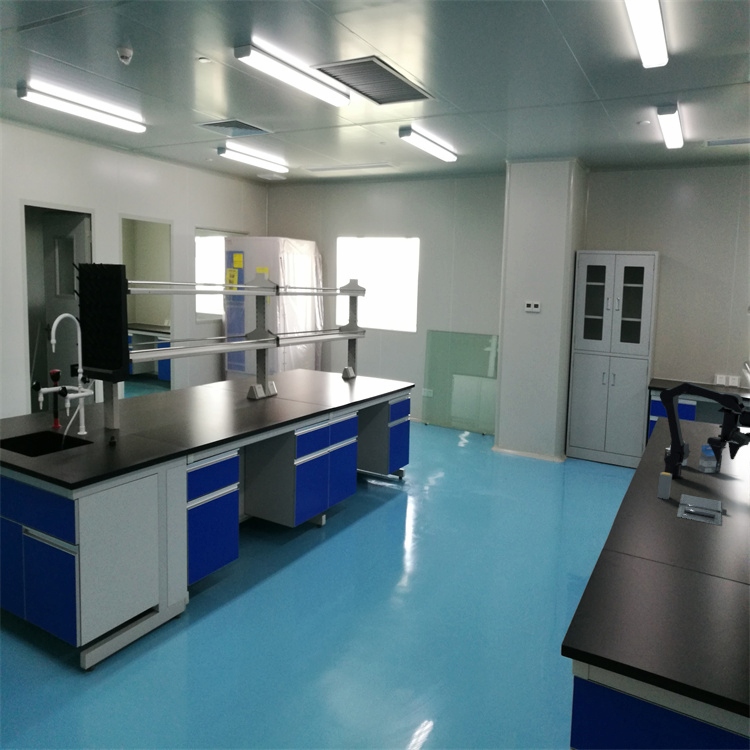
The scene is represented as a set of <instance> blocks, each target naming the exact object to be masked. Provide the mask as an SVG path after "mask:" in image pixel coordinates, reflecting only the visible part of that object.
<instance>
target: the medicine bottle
mask: <svg viewBox="0 0 750 750" xmlns="http://www.w3.org/2000/svg"><path fill="white" fill-rule="evenodd" d="M669 443H670V444H669V447H666V448H665V450H664V458H666V457H668V456H669V455H670V447H671V441H670V442H669ZM684 443H685V444H686V442H685V441H684ZM687 464H688V458H687V459H685V460H684V461H683V462H682V467H684V466H687Z"/></svg>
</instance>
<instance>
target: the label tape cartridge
mask: <svg viewBox="0 0 750 750" xmlns="http://www.w3.org/2000/svg"><path fill="white" fill-rule="evenodd" d="M722 460H723V454H722V455H721V459H720V461H719V462H718V461H717V460H716V458H715V455H714V453H713V450H712V448H711V446H710V445H709V444H707V445H706V444H702V445H701V451H700V457H699V464H698V465H699V466H698V470H697V471H698V472H700V473H703V474H717V473H721V469H722V468H721V467H722Z"/></svg>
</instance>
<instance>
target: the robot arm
mask: <svg viewBox="0 0 750 750" xmlns="http://www.w3.org/2000/svg"><path fill="white" fill-rule="evenodd" d="M686 393H689V394H694V395H696V396H699V397H702V398H705V399H709V400H711V401H713V402H717V403H718V404H719V405H721V406H722V407H721V408H719V409H718V410H717V412H718V413H722V414H723V415H722V420H721V422H722V423H721V424H719V428H720V434H718V435H717V436H709V437H708V438H707V440H706V444H707V445H710V446H711V448H710V449H712V450H713V453H714V455H715V458H716V460H717V461H718V462H719V461H720V459H721V455H722V456H723V450H724V449H726V448H727V446H726V445H727V443H728V450H729V456H730V457H729V458H730V460H731V461H733V460H735V457H736V455H737V454H738V452H739V450H740V449H741V448H742V447H745V446H749V444H750V432H746V433H745V432H741V428H740V426H739V424H740V425H741V426H742V427H745V428H750V410H748V409H747V408H746V406H745V404H744V403H743V397H742V395H740V394H738V393H734V392H727V391H726V392H724V391H718V390H715V389H713V388H708V387H704V386H703V385H699V384H695V383H693V382H690V381H687V382H683V383H682V384H679V385H677V386H675V387H673V388H666V389H663V390H661V392H660V393H659V399H660V402H661V404H662V406H663V408H664V409H665V412H666V413H665V414H666V417H667V422H668V428H669V429H668V430H669V435H670V442H671V447H670V446H669V448H670V455H669V456H668V457H666V458H664V459H663V462H664V472H666V473H670V474H672V479H673V480H674V479H675V480H677V479H684V476H682V470H683V466H682V462H683V461H684V460H685V459H687V460H688V458H689V456H690V453H691V450H690V444H689V443H686V442H685V440H684V439H683V434H682V433H683V432H682V428H681V423H680V418H679V417H680V416H679V411H678V405H679V398H680V397H679V396H681V395H684V394H686ZM684 442H685V443H684ZM672 479H671V480H672Z"/></svg>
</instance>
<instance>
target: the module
mask: <svg viewBox="0 0 750 750" xmlns="http://www.w3.org/2000/svg"><path fill="white" fill-rule="evenodd" d="M658 479H659V480H658V488H657V494H656V495H657V497H659V498H658V499H662V498H663V499H664V500H667V499H668V500H669V498H670V494H671V487H672V474H670V473H666V472H665V471H663V472H662V471H661V472H660V473H659V478H658Z"/></svg>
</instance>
